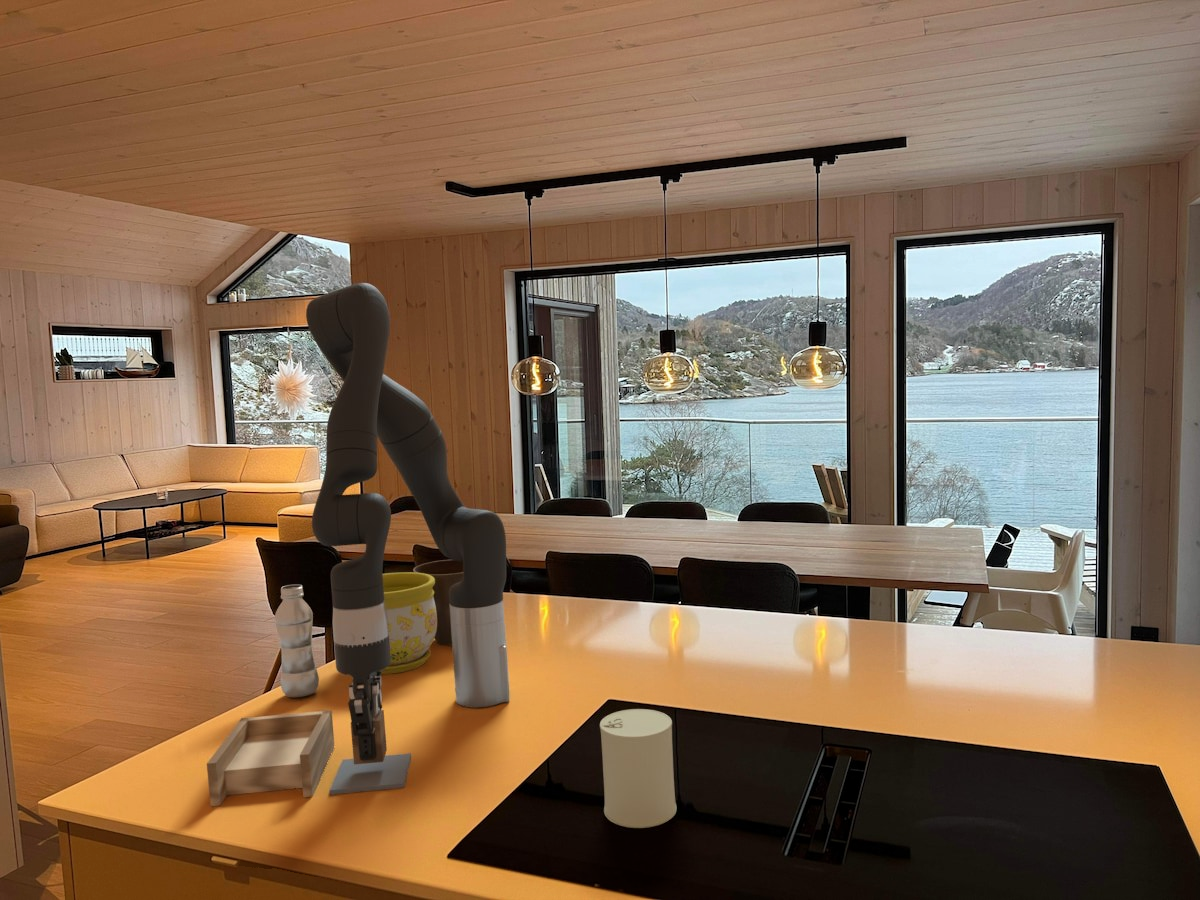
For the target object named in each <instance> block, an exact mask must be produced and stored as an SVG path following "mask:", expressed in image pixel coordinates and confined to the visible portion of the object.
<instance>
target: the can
mask: <svg viewBox="0 0 1200 900" xmlns="http://www.w3.org/2000/svg"><path fill="white" fill-rule="evenodd" d="M599 729H600V737H601V753H602V772H603V788H604V789H603V791H604V807H603V813H604V816H605V817H606V818H607V820H608V821H610V822H611V823H613V824H615V825H618V826H621V827H625V828H633V829H644V828H645V829H646V828H652V827H657V826H660V825H663V824H664V823H665V824H666V822H668V821H669V820H671V819H672V818H674V816H675V815H676V813H677V803H676V796H675V795H676V794H675V792H676V791H675V780H674V779H675V778H674V777H675V776H674V775H675V773H674V757H673V756H674V755H673V754H674V753H673V751H674V750H673V720H672V718H671V717H670V716H669V715H667V714H666V713H664V712H661V711H658V710H655V709H645V708H631V709H623V710H619V711H615V712H613V713H610V714H608V715H605V716H604V717H603V718H602V719H601V720H600V723H599Z"/></svg>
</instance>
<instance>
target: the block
mask: <svg viewBox="0 0 1200 900" xmlns="http://www.w3.org/2000/svg"><path fill="white" fill-rule="evenodd" d="M374 722H375V728H376V731H375V744H376V758H375V759H374V760H366V761H362V760H361V759H360V755H359V743H358V736H354V734H353V728H352V722H350V731H351V743H352V745H351V747H352V757H353V758H352V759H354V765H355V764H366V763H376V762H383V760H384V757H385V756H386V755H387V754H386V753H387V737H386V736H387V735H386V725H385V724H386V721H385V710H384V709H381V710H378V714H377V715H376V716H375V721H374ZM360 726H367V723H365V722H364V723H360Z"/></svg>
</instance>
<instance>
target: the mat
mask: <svg viewBox="0 0 1200 900" xmlns="http://www.w3.org/2000/svg"><path fill="white" fill-rule="evenodd" d="M411 760H412V752H410V753H409V752H408V753H399V754H391V755H390V754H389V755H387V754H386V755H385V757H384V760H383V762H376V763H366V764H355V765H354V759H353V758H346V759H342V760H341V762H340V765H339V767H338V768H337V772H336V775H335V777H334V779H333V782H332V784H331V786H330V788H329V795H341V794H351V793H352V794H353V793H359V792H360V793H361V791H362V792H371V791H381V790H392V789H403V788H405V785H406V780H407V778H408V777H407V776H408V774H409V769H410V765H411V762H412V761H411Z"/></svg>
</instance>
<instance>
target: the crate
mask: <svg viewBox="0 0 1200 900" xmlns="http://www.w3.org/2000/svg"><path fill="white" fill-rule="evenodd" d="M333 725H334V724H333V712H332V710H323V711H322V710H320V711H309V712H308V711H307V712H298V713H287V714H275V715H266V716H265V715H262V716H252V717H243V718H242V717H241V718H240V719H239V721H238V722H237V724H236V725H235V726H234V727H233V729H232V730H231V732H230V733H229V734H228V735H227V737H226V738H225V739H224V740H223V742H222V743H221V744H220V745H219V747H218V749H217V750H216V751H215V753H213V755H212V756H211V757H210V759H209V760H208V761H207V763H206V770H207V771H206V772H207V781H208V782H207V783H208V791H209V801H210V807H220V806H221V804H222V803H223V801H224V800H225V799H226V797H227V796H231V795H233V796H234V795H241V794H243V795H244V794H253V793H263V792H272V791H273V792H274V791H282V790H284V789H285V790H293V789H294V788H296V789H302V794H303V795H302V797H303V798H312V797H314V794H315V792H316V790H317V788H318V786H319V783H320V781H321V779H320V778H322V777H323V775H322V774H324V773H323V772H325V770H326V768H327V766H328V764H327V762H328V760H329V761H330V759H331V757H332V755H331V753H332V751H333V749H334V750H335V748H334V746H335V738H334V737H335V735H334V726H333ZM333 752H334V751H333ZM332 754H333V753H332ZM330 756H331V757H330ZM329 758H330V759H329ZM328 763H329V762H328ZM326 765H327V766H326ZM325 767H326V768H325ZM324 769H325V770H324ZM321 776H322V777H321ZM317 785H318V786H317ZM294 790H295V789H294Z"/></svg>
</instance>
